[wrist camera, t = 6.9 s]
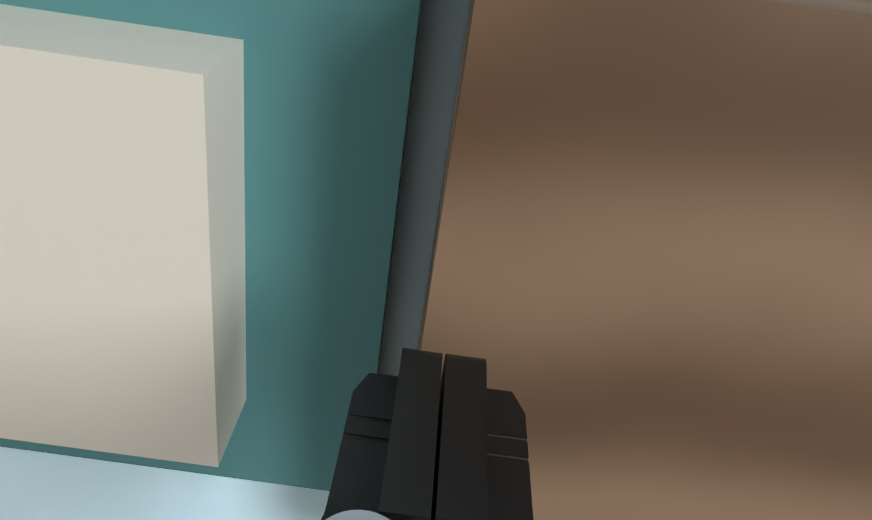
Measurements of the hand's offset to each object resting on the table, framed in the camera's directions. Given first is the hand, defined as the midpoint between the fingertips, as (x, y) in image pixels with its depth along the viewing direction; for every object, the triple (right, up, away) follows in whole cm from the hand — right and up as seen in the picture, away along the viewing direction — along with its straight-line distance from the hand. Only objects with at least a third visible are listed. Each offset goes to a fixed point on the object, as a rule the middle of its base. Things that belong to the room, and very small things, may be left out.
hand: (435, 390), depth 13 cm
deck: (+6, +1, +5) cm, 8 cm away
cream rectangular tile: (-8, +2, +2) cm, 9 cm away
